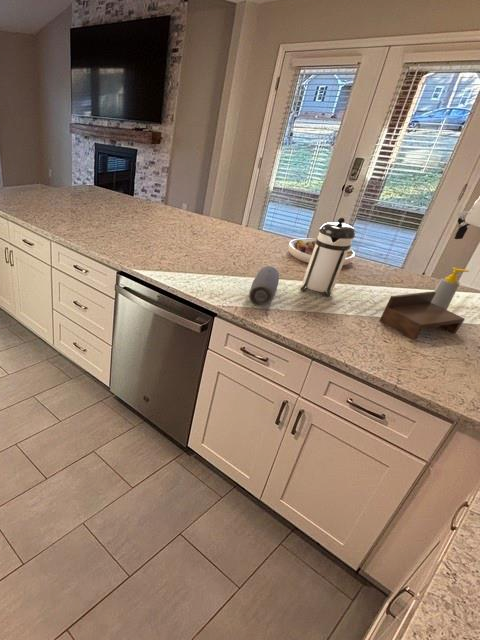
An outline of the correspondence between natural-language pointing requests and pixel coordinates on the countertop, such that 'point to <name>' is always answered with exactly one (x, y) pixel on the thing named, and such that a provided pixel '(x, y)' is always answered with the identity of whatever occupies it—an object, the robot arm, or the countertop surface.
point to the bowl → (310, 250)
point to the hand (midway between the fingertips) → (471, 243)
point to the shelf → (418, 314)
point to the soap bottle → (446, 289)
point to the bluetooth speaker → (264, 286)
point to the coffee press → (328, 256)
